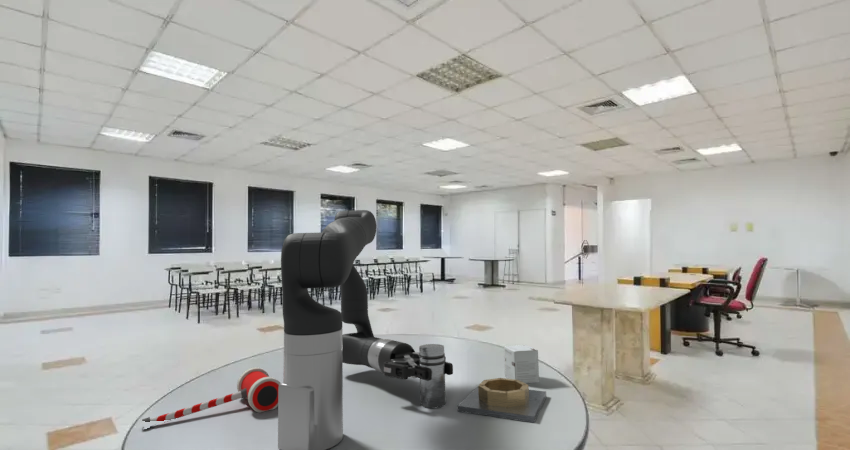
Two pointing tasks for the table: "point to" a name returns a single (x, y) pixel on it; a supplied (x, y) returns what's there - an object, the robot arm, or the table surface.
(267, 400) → the toy hammer
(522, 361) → the skincare box
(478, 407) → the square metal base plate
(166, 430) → the table surface
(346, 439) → the table surface
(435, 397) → the piston
